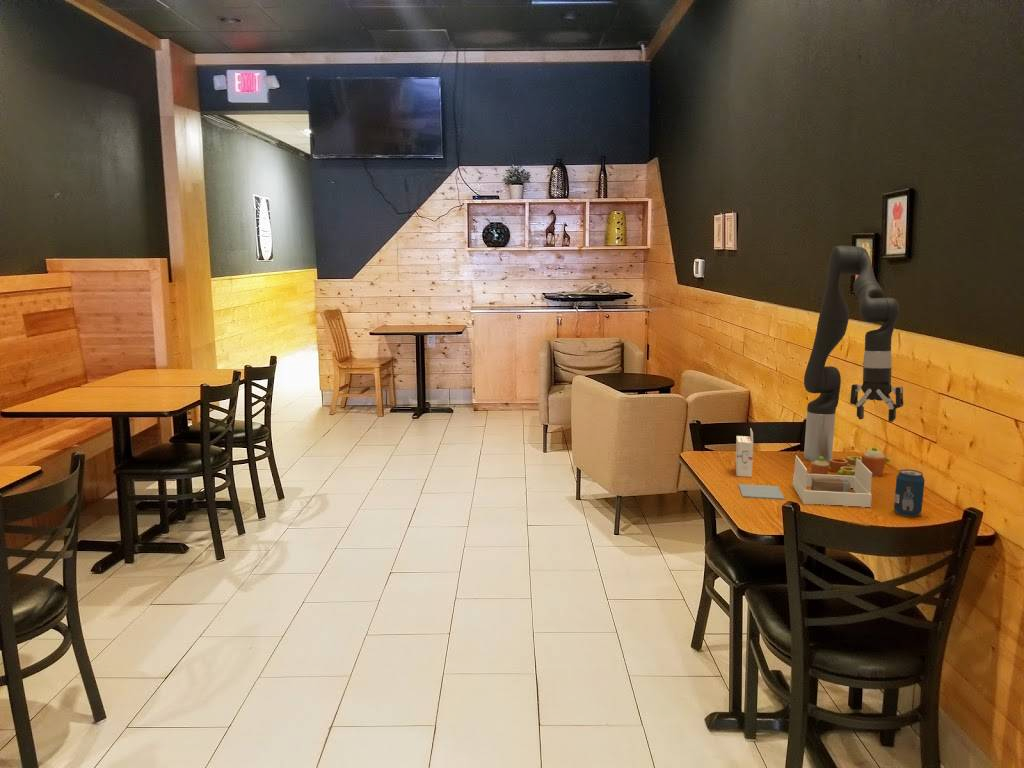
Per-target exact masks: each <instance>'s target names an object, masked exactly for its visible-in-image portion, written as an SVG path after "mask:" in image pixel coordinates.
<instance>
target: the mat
mask: <svg viewBox="0 0 1024 768" xmlns="http://www.w3.org/2000/svg"><path fill="white" fill-rule="evenodd" d="M737 486H738V489H739V491H740V495H741V496H742V498H751V499H752V498H753V499H768V500H785V499H786V498H785V496H784V494H783V492H782V490H781V489H780V487H779V486H778V485H763V484H747V483H746V484H744V483H738V485H737Z"/></svg>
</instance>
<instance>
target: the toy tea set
mask: <svg viewBox="0 0 1024 768" xmlns="http://www.w3.org/2000/svg"><path fill="white" fill-rule="evenodd" d="M877 449H878V448H877V447H876V446H872V447H871V449H868V450H866V451H864V453H862V454H861V455H860V456H858V455H848V456H845V458H836V457H835V458H833V457H832V459H830V462H826V461H824V458H823V457H822V456H820V457H819V460H816V461H810V469H811V470H810V471H811V472H810V474H824V475H828V472H829V469H830V470H831V471H830V472H832V471H833V472H832V473H835V472H838V473H837V475H844V476H855V466H856V458H858V459H859V460H860V461H861V462H862V463H863V464H864V465H865V466H866V467H867V468H868V469H869V470H870V471H871V472H872V477H873V476H879V477H882V476H883V473H884V469H885V465H886V463H890V462H891V458H890V457H887V456H886V455H885V454H884V453H882V452H881V451H880V450H877Z"/></svg>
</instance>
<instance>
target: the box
mask: <svg viewBox="0 0 1024 768" xmlns="http://www.w3.org/2000/svg"><path fill="white" fill-rule="evenodd" d="M850 487H851V483H850V482H849V481H848V480H847V479H840V478H820V477H812V484H811V487H810V491H828V492H847V493H851V489H850Z"/></svg>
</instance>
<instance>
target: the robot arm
mask: <svg viewBox="0 0 1024 768" xmlns="http://www.w3.org/2000/svg"><path fill="white" fill-rule="evenodd" d="M841 275H844V276H857V277H856V278H855V280H854V282H853V287H852V288H853V293H854V294H855V296H856V299H857V300H858V303H859V304H858V305H859V311H858V312H859V313H858V314H859V317H860V319H861V320H862V321H864V322H866V323H882V324H881V326H880V327H879V328H877V329H873V330H868V331H867V332H866V333H865V335H864V355H863V361H862V372H863V373H862V385H861V384H857V383H854V384H852V385H851V386H850V387H851V388H850V401H849V402H850V403H849V404H851V405H854V406H855V407H856V417H857V418H858V420H863V419H864V417H865V416H864V415H865V406H864V405H865V404H866V402H867V401H883V402H884V404H886V406H888V408H889V409H888V419H887V420H888V422H889V423H892V422H894V421H895V420H896V419H897V418H896V417H897V409H899V408H902V407H904V388H903V386H897V387H894V386H892V368H893V367H892V364H893V363H892V362H893V358H892V337H893V332H894V329H895V325H896V322H897V320H898V317H899V314H900V304H899V302H898V300H897V299H896V298H893V297H885V294H884V291H883V289H882V287H881V286H880V283H878V281H877V279H876V277H875V274H874V268H873V265H872V261H871V258H870V255H869V253H868V251H867V249H866V248H864V247H863V246H853V245H836V246H834V247H833V248H832V250H831V252H830V255H829V260H828V267H827V274H826V282H825V289H824V290H825V291H824V294H823V299H822V302H821V303H822V304H821V307H820V312H819V316H818V321H817V326H816V330H815V332H816V333H815V337H814V340H813V344H812V350H811V352H810V355H809V359H808V362H807V366H806V369H805V372H804V378H803V384H804V388H805V391H806V392H808V393H810V394H819V396H818V397H817V398H815V399H814V400H811V401H810V402H808V403H807V406H806V407H807V408H806V422H805V436H804V450H803V451H804V452H803V459H804V460H806V461H809V462H812V461H816V460H819V457H820V456H822V457H823V458H824V461H826V462H828V463H830V459H833V451H834V450H833V449H834V437H835V425H836V424H835V423H836V411H837V407H838V405H839V398H840V391H841V383H842V381H841V380H842V379H841V378H842V377H841V373H840V370H839V369H838V368H837V367H835V366H832V365H830V366H829V365H827V366H826V362H827V359H828V357H829V356H830V354H831V353H832V352H833V350H834V349H835V348H836V347H837V345H839V343H840V342H841V341H842V340H843V338H844V336H845V335H846V333H847V329H848V324H849V318H850V311H849V307H848V305H847V303H846V301H845V298H844V297H843V294H842V292H841V291H842V290H841V287H840V280H841V279H840V278H841ZM861 391H862V393H863V395H862V396H861V397H860V398H859V392H861ZM891 393H893V394H894V395H895V402H894V400H893V398H892V396H891V395H890V394H891ZM858 399H859V400H858Z"/></svg>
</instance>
